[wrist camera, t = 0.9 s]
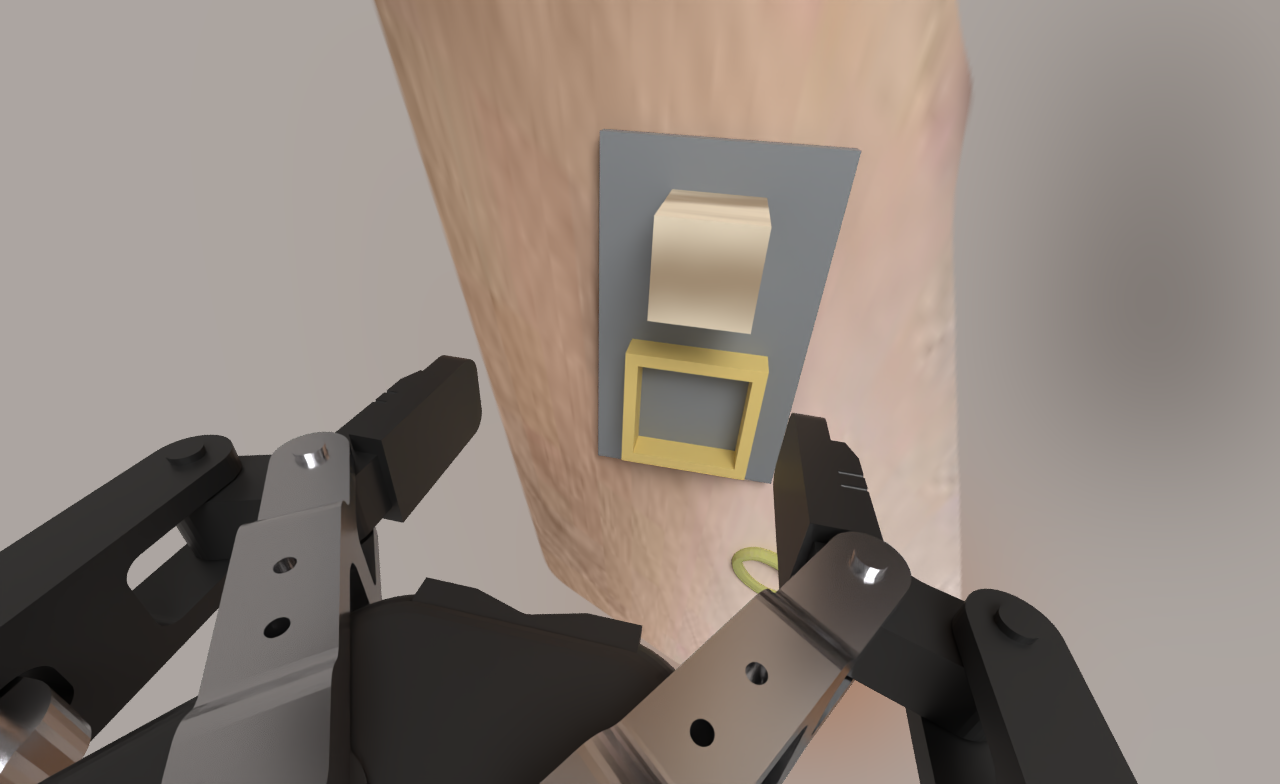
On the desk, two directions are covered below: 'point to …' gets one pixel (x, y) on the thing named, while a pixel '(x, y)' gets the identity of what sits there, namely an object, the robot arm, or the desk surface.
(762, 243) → the beech block
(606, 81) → the desk surface
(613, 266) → the puzzle board
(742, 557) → the key
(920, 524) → the desk surface
